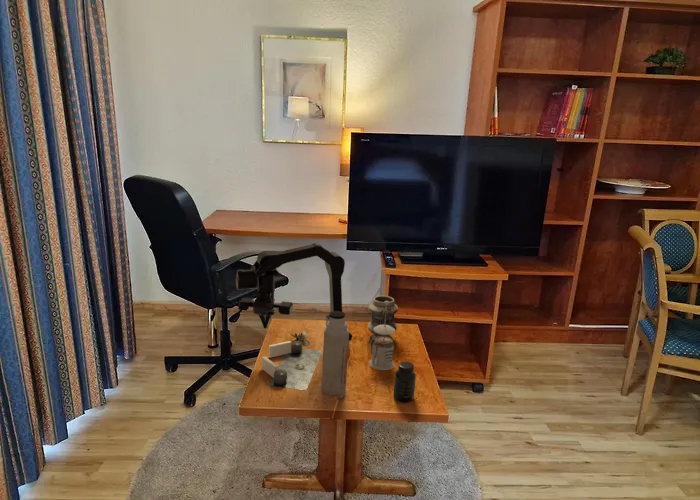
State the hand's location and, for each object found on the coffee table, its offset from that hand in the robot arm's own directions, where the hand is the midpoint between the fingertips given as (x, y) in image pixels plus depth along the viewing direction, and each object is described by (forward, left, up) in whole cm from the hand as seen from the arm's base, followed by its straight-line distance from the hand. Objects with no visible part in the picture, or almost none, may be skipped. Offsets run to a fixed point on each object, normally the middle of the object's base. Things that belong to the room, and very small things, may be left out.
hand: (265, 328), depth 174 cm
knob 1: (-7, -4, -11) cm, 14 cm away
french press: (-42, -7, -13) cm, 45 cm away
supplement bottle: (-51, +14, -13) cm, 54 cm away
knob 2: (-7, +13, -11) cm, 18 cm away
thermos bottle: (-28, +16, -13) cm, 35 cm away
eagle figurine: (-10, -14, -13) cm, 22 cm away
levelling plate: (-13, +4, -13) cm, 19 cm away
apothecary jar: (-41, -29, -13) cm, 52 cm away
